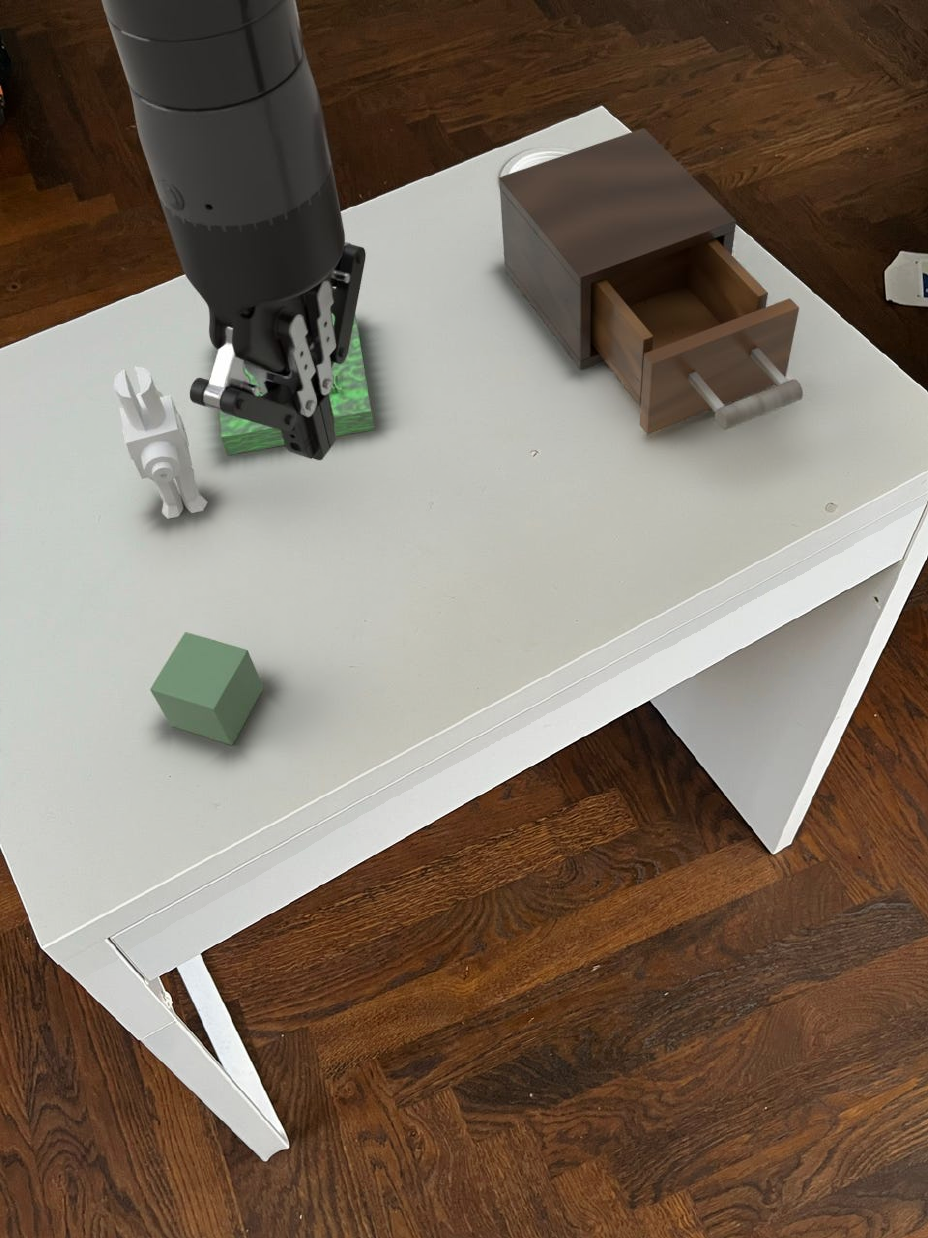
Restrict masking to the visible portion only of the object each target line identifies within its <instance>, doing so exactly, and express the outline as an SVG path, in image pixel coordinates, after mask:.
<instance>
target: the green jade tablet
mask: <svg viewBox="0 0 928 1238" xmlns="http://www.w3.org/2000/svg"><path fill="white" fill-rule="evenodd" d="M331 314H332V320H333V327H334V322H335V317H334V315H333V313H331ZM362 349H363V348H362V343H361V337H360V332H359V325H358V321H357V316H356V314H355V317H354V323H353V328H352V333H351V339H350V344H349V350H348V354H347V357H346V359H345V361H344V362H343V363H342V364H337V363H334V364H333V366H332V373H333V385H332V388H331V390H330V392H329V398H330V402H331V407H332V412H333V415H334V431H335V435H336V437H339V436H344V435H350V434H356V433H361V432H368V431H372V430H373V431H374V430H375V424H374V418H373V417H374V416H373V411H372V404H371V399H370V398H371V397H370V393H369V387H368V381H367V374H366V368H365V361H364V357H363V356H364V355H363V350H362ZM217 353H218V350H217V349H216V354H217ZM244 371H245V373H246V374H247V375H248V376H249V377H250V380H251V384H253V385H256V386H258V387H259V393H258V395H257V396H258V397H261V396H262V395H263V394H262V392H261V389H260V386H259V384H258V381H257V379H256V378H255V377H253V376H252V375H251V374H249V373H248V372H247V370H246V368H245V366H244ZM219 421H220V423H219V424H220V437H221V440H222V443H223V447H224V449H225V452H226V454H227V456H232V455H236V454H242V453H249V452H253V451H260V450H266V449H270V448H276V447H282V446H285V444H284V440H283V437H282V433H281V430H279V429H276V428H272V427H269V426H266V425H262V424H259V423H255V422H252V421H248V420H245V419H241V418H238V417H235V416H232V415H229V414H226V413H223V412H220V411H219Z"/></svg>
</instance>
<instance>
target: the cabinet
mask: <svg viewBox="0 0 928 1238" xmlns="http://www.w3.org/2000/svg"><path fill="white" fill-rule="evenodd" d="M498 185H499V197H500V212H501V231H502V245H503V261H504V271H505V272H506V273H507V275H508V276H509V277H510V278H511V280H512V281H513V283H514V284H515V285H516V287H517V288H518V289H519V290H520V292H521V293H522V294H523V296H524V297H525V298H526V300H527V301H528V303H530V305H531V306H532V308H533V309H534V310H535V311H536V313H537V314H538V316H539V317H540V318H541V320H542V321H543V322H544V324H545V325H546V326H547V328H548V329H549V330H550V331H551V333H552V334H553V336H554V337H555V338H556V340H557V341H558V342H559V344H560V345H561V346H562V347H563V349H564V350H565V351H566V353H567V354H568V355H569V357H570V358H571V359H572V361H573V362H574V363H575V365H576V366H577V367H578V369H580V370H583V369H586V368H588V367H591V366H593V365H596V364H598V363H601V362H605V360H604V359H603V358H602V357H601V355H600V354H599V353H598V351H597V350H596V349H595V348H594V346H593V345H592V344H591V342H590V337H591V283H593V282H596V281H599V280H601V279H604V278H607V277H610V276H612V275H615V274H618V273H621V272H623V271H626V270H629V269H632V268H634V267H637V266H640V265H643V264H645V263H648V262H651V261H654V260H656V259H659V258H662V257H665V256H667V255H670V254H673V253H676V252H678V251H681V250H684V249H687V248H689V247H692V246H695V245H697V244H700V243H703V242H706V241H708V240H711V239H714V238H716V239H717V240H718V241H719V242H720V243H721V245H722V246H723V247H724V248H725V249H726V250H727V251H728V252H729V253H730V254H731V255H732V256H733V248H734V241H735V234H736V233H735V231H736V227H737V226H736V225H737V219H735V218H734V217H733V216H732V215H731V213H729V212H728V211H727V210H726V208H725V207H723V206H722V204H720V203H719V202H718V201H717V199H715V197H713V196H712V195H711V194H710V193H709V192H708V191H707V189H705V187H703V186H702V185H701V183H700V182H699V181H697V180H696V179H695V178H694V177H693V176H692V174H690V173H689V172H688V170H686V169H685V168H684V167H683V166H682V165H681V163H679V161H678V160H677V159H675V158H674V157H673V156H672V154H670V153H669V152H668V150H666V148H664V147H663V146H662V145H661V143H660V142H658V140H656V138H654V137H653V136H652V134H650V132H648V131H647V130H646V129H645V128H640V129H637V130H633V131H631V132H629V133H625V134H623V135H619V136H617V137H614V138H611V139H607V140H604V141H601V142H599V143H596V144H593V145H590V146H587V147H584V148H581V149H579V150H576V151H575V150H574V151H571V152H569V153H567V154H564V155H561V156H557V157H555V158H552V159H549V160H546V161H544V162H540V163H538V164H534V165H532V166H531V165H530V166H529V167H526V168H523V169H520V170H517V171H514V172H511V173H508V174H506V175H502V176H499V177H498Z"/></svg>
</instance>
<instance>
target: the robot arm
mask: <svg viewBox="0 0 928 1238" xmlns="http://www.w3.org/2000/svg"><path fill="white" fill-rule="evenodd" d="M101 4H102V7H103V11H104V13H105V16H106V20H107V23H108V26H109V29H110V32H111V35H112V38H113V41H114V44H115V47H116V51H117V53H118V57H119V59H120V63H121V66H122V69H123V72H124V75H125V78H126V81H127V85H128V88H129V92H130V97H131V100H132V107H133V112H134V118H135V123H136V128H137V133H138V137H139V140H140V144H141V147H142V151H143V154H144V157H145V160H146V162H147V166H148V169H149V172H150V175H151V177H152V180H153V183H154V187H155V190H156V193H157V196H158V199H159V203H160V205H161V208H162V211H163V214H164V218H165V221H166V223H167V226H168V230H169V232H170V235H171V238H172V241H173V245H174V248H175V251H176V253H177V254H176V255H177V256H178V260H179V263H180V266H181V269H182V271H183V274H184V276H185V277H186V278H187V280H188V281H189V283H190V284H191V285H192V287H193V288H194V289H195V290H196V292H197V293H198V294H199V295H200V297H201V299H203V300H204V302H205V304H206V305H207V308H208V315H209V319H208V320H209V324H208V335H209V340H210V342H211V345H212V346H213V347H214V348H215V349H216V351H217V350H218V353H217V352H216V357H215V360H214V363H213V367H212V371H211V375H210V378H209V379H206V378H203V377H197V378H196V379H195V380H193V382H192V383H191V386H190V388H189V398H190V401H191V402H192V403H193V404H196V405H200V406H202V407H205V408H208V409H210V410H214V411H217V412H219V413H220V412H223V413H226V414H229V415H232V416H235V417H238V418H241V419H245V420H248V421H252V422H255V423H259V424H262V425H266V426H269V427H272V428H276V429H279V430H281V433H282V437H283V440H284V444H285V445H284V447H285V449H286V450H287V451H288V452H290V453H291V454H296V455H299V456H301V457H304V458H307V459H310V460H316V461H323V459H324V458H325V457H326V455H327V454H328V452H329V451H330V450H331V448H332V447H333V446H334V444H335V443H336V441H337V436H336V435H335V431H334V415H333V412H332V407H331V402H330V398H329V392H330V390H331V388H332V385H333V373H332V366H333V364H334V363H337V364H342V363H343V362H344V361H345V359H346V357H347V354H348V350H349V344H350V339H351V333H352V328H353V323H354V317H355V315H356V311H357V307H358V301H359V297H360V291H361V285H362V281H363V280H362V279H363V273H364V268H365V263H366V257H367V256H366V255H367V254H366V250H365V248H364V247H363V246H358V245H356V244H352V243H350V242H347V241H346V234H345V227H344V221H343V217H342V211H341V205H340V200H339V195H338V189H337V188H338V187H337V183H336V178H335V173H334V167H333V161H332V157H331V152H330V145H329V141H328V134H327V129H326V124H325V117H324V112H323V108H322V103H321V99H320V95H319V91H318V88H317V85H316V81H315V78H314V76H313V73H312V69H311V67H310V63H309V61H308V57H307V54H306V49H305V46H304V39H303V33H302V28H301V23H300V17H299V11H298V7H297V2H296V0H101ZM331 313H333V315H334V317H335V322H334V327H333V320H332V314H331ZM244 366H245V368H246V370H247V372H248V373H249V374H251V375H252V376H253V377H255V378H256V379H257V381H258V384H259V386H260V389H261V392H262V394H263V395H262V396H261V397H258V396H257V395H258V393H259V387H258V386H256V385H253V384H251V380H250V377H249V376H248V375H247V374H246V373H245V371H244Z"/></svg>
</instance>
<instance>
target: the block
mask: <svg viewBox="0 0 928 1238" xmlns="http://www.w3.org/2000/svg"><path fill="white" fill-rule="evenodd" d="M263 690H264V685H263V683H262V680H261V678H260V676H259V674H258V671H257V669H256V666H255V664H254V661H253V659H252V656H251V654H250V653H249V650H248V649H246V648H242V647H239V646H236V645H232V644H228V643H225V642H221V641H218V640H215V639H211V638H208V637H205V636H201V635H198V634H194V633H190V632H187V631H185V632H184V633H183V634H182V636H181V638H180V640H179V641H178V643H177V645H176V646H175V648H174V650H173V651H172V653H171V654H170V656H169V657H168V659H167V661H166V662H165V664H164V665H163V667H162V669H161V670H160V672H159V674H158V676H157V677H156V678H155V680H154V682H153V684H152V685H151V687H150V688H149V691H150V693H151V694H152V696H153V697H154V699H155V701H156V702H157V703H156V704H158V706H159V708H160V710H161V711H162V713H163V714H164V716H165V719H167V721H168V723H169V725H170V727H173V728H175V729H179V730H183V731H186V732H189V733H192V734H195V735H199V736H201V737H204V738H207V739H211V740H215V741H218V742H221V743H223V744H227V745H229V746H233V745H234V743H235V741H236V740H237V737H238V736H239V734H240V732H241V730H242V729H243V727H244V725H245V723H246V721H247V719H248V717H249V716H250V714H251V713H252V711H253V708H254V707H255V705H256V703H257V701H258V700H259V698H260V696H261V694H262V692H263Z"/></svg>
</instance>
